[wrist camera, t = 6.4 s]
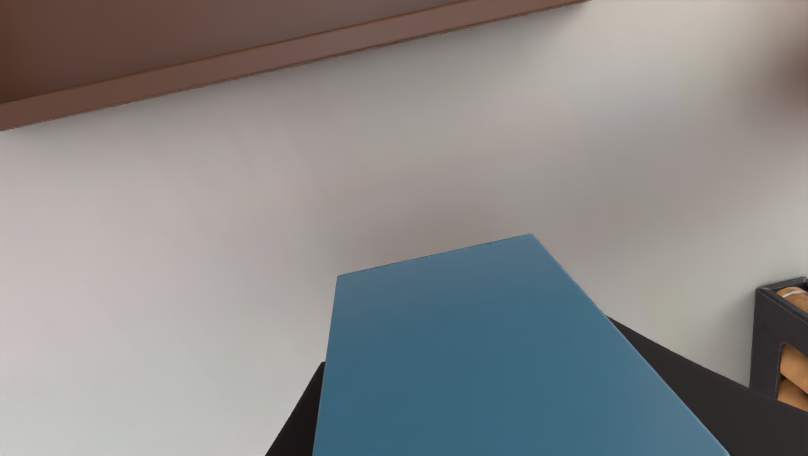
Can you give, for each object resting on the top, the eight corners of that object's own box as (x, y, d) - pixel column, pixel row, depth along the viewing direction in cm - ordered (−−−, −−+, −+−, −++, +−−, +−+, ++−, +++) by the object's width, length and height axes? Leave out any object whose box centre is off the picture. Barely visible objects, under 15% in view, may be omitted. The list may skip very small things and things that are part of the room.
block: (380, 425, 12) (391, 765, 6) (336, 274, 10) (296, 550, 5) (549, 388, 12) (715, 697, 6) (532, 232, 10) (736, 456, 4)
